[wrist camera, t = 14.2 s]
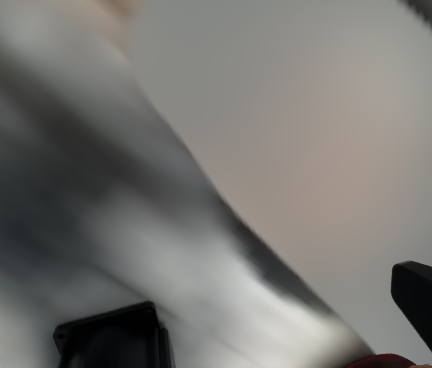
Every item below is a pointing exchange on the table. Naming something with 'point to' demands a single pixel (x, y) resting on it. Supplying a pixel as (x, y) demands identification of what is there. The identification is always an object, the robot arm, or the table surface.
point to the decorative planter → (386, 362)
